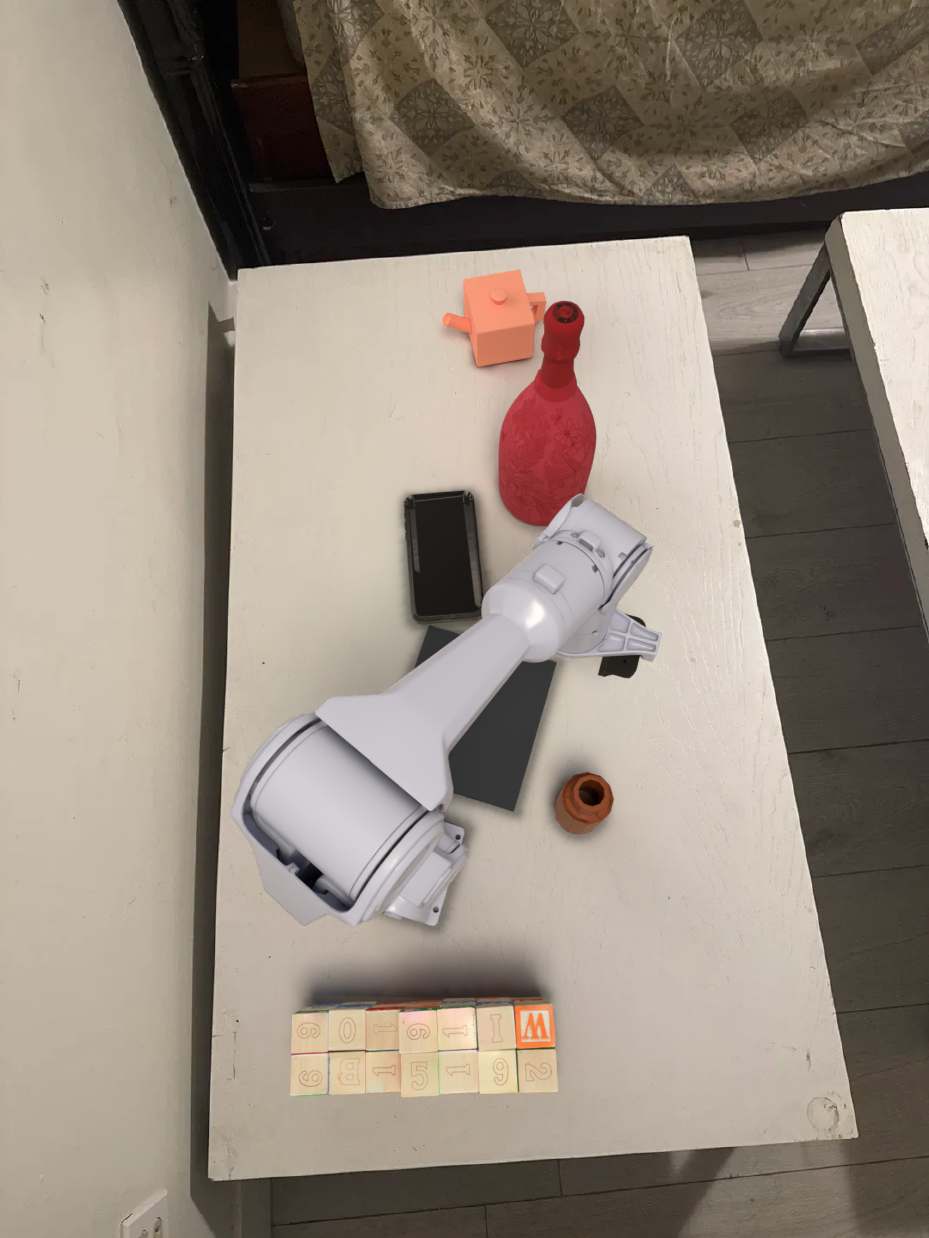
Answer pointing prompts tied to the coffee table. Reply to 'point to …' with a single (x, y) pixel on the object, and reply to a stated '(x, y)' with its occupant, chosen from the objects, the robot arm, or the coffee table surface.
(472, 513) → the phone
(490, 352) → the pink cube teapot
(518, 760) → the mat
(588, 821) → the brown jar
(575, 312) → the wine bottle
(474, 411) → the coffee table surface
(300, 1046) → the stack of blocks
